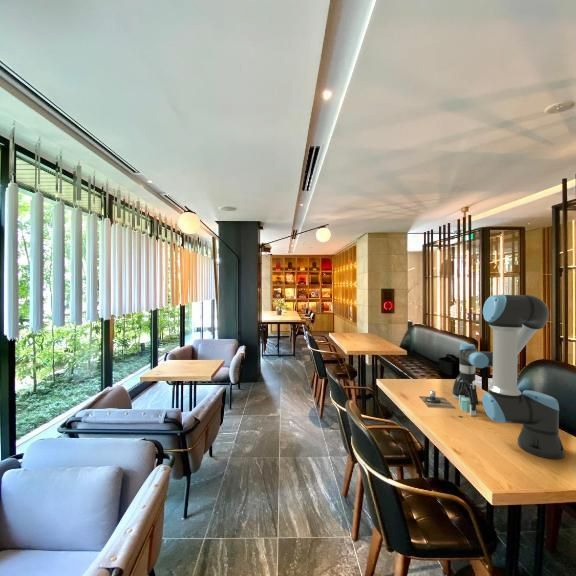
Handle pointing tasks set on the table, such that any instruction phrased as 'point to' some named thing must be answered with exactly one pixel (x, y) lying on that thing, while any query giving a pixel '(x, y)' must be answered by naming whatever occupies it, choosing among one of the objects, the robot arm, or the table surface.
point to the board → (442, 404)
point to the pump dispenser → (457, 388)
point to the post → (432, 398)
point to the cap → (465, 404)
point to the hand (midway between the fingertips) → (467, 411)
